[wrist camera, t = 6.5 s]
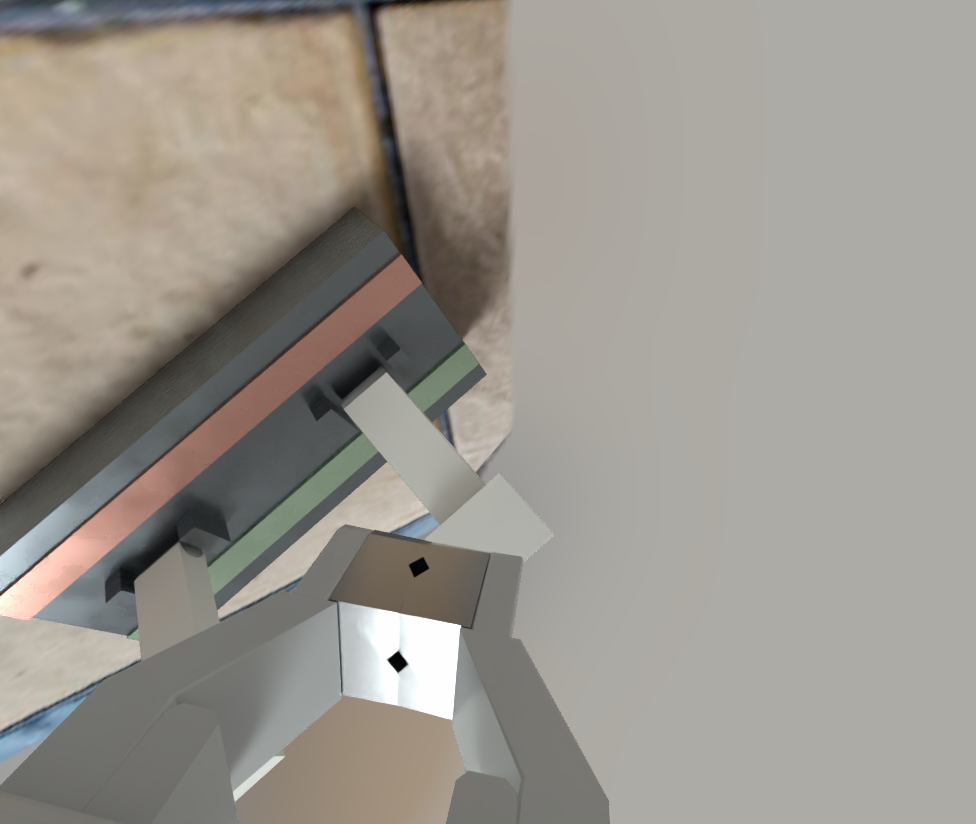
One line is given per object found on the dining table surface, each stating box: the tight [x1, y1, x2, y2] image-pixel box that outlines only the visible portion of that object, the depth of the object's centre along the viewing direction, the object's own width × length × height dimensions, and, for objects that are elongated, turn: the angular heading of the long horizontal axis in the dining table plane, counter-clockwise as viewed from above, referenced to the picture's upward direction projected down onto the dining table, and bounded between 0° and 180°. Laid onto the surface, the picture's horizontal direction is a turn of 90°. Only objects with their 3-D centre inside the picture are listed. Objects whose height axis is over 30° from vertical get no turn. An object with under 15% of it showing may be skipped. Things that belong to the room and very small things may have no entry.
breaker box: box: [0, 207, 487, 641], centre depth 29 cm, size 12×26×5 cm, turn 118°
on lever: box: [340, 366, 554, 563], centre depth 27 cm, size 3×5×13 cm, turn 118°
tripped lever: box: [134, 540, 285, 801], centre depth 23 cm, size 3×5×13 cm, turn 118°
